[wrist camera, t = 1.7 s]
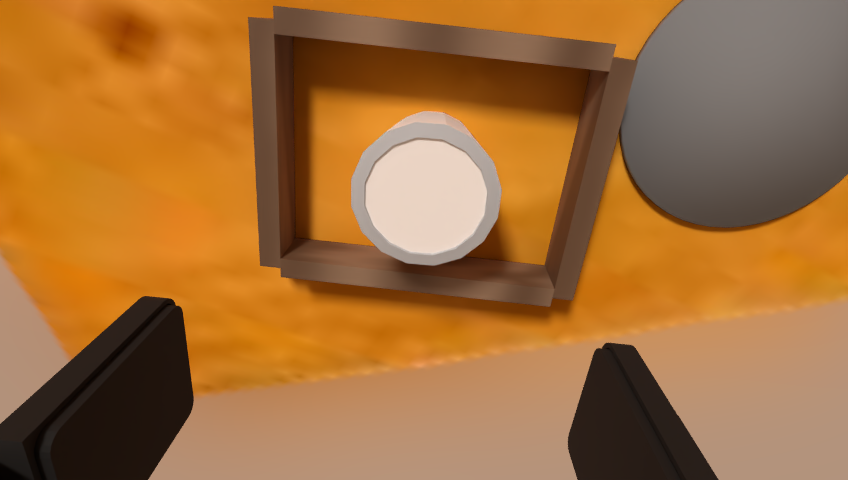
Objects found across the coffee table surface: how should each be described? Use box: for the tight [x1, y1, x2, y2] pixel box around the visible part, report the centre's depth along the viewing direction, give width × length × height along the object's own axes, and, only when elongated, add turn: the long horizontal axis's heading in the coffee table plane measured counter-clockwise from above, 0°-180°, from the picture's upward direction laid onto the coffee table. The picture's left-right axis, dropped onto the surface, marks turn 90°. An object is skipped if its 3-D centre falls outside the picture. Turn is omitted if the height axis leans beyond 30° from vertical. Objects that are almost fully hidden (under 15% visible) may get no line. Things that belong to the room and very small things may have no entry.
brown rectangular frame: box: [248, 6, 638, 307], centre depth 26 cm, size 18×14×3 cm
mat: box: [619, 0, 848, 228], centre depth 25 cm, size 14×14×1 cm
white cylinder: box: [351, 111, 502, 266], centre depth 24 cm, size 7×7×7 cm
